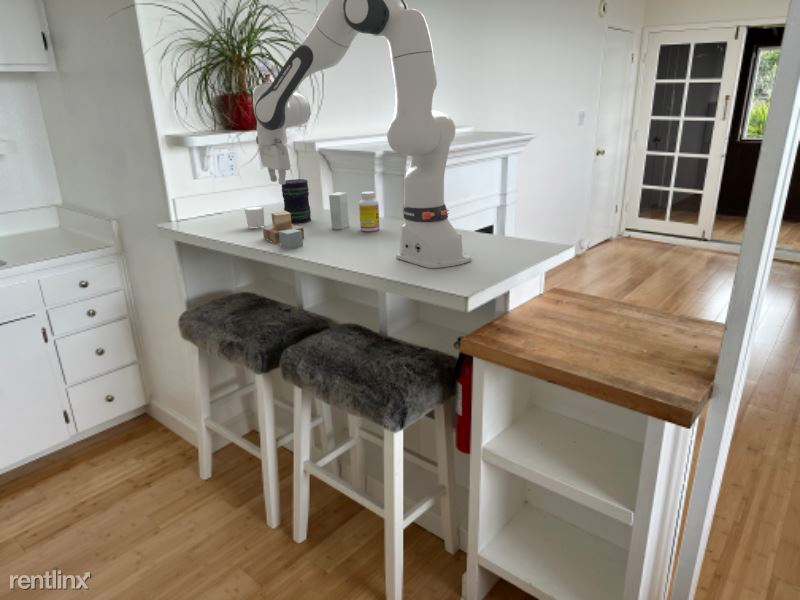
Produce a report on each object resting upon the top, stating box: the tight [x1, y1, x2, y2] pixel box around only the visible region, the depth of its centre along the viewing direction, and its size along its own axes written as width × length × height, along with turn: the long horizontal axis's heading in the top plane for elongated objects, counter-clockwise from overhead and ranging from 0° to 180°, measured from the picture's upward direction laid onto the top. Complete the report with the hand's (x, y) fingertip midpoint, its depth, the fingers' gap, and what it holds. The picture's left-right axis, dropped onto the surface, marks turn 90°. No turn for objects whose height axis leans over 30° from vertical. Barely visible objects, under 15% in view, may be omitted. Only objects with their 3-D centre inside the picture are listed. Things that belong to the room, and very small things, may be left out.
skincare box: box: [328, 191, 350, 230], centre depth 198 cm, size 6×4×12 cm
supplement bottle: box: [358, 190, 381, 232], centre depth 193 cm, size 7×7×13 cm
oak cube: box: [270, 210, 292, 230], centre depth 186 cm, size 5×5×5 cm
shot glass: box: [243, 206, 265, 228], centre depth 205 cm, size 7×7×7 cm
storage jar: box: [281, 178, 312, 225], centre depth 211 cm, size 10×10×15 cm
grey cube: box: [279, 229, 304, 250], centre depth 176 cm, size 5×5×5 cm
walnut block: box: [262, 224, 305, 245], centre depth 187 cm, size 10×10×4 cm
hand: (278, 182), depth 181 cm, fingers open, 8 cm apart
